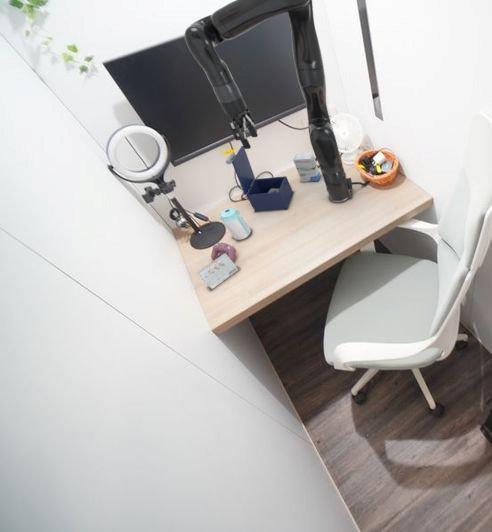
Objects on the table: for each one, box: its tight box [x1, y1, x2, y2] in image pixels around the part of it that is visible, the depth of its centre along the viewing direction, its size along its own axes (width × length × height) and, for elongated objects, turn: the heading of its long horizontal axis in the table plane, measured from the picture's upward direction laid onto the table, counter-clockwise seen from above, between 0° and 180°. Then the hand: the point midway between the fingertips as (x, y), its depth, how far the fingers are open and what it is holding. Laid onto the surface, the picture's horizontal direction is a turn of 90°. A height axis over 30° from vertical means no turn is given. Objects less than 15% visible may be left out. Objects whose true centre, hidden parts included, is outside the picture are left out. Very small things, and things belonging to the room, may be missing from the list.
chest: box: [245, 175, 294, 213], centre depth 141 cm, size 15×12×9 cm
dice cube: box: [268, 188, 279, 193], centre depth 141 cm, size 5×5×5 cm
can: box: [220, 207, 251, 241], centre depth 127 cm, size 7×7×12 cm
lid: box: [225, 145, 256, 196], centre depth 132 cm, size 15×12×5 cm
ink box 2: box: [292, 153, 321, 183], centre depth 149 cm, size 8×5×12 cm, turn 84°
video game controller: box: [210, 242, 237, 263], centre depth 122 cm, size 10×5×7 cm, turn 71°
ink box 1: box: [196, 252, 239, 290], centre depth 113 cm, size 2×11×10 cm, turn 140°
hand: (251, 142), depth 119 cm, fingers open, 8 cm apart
